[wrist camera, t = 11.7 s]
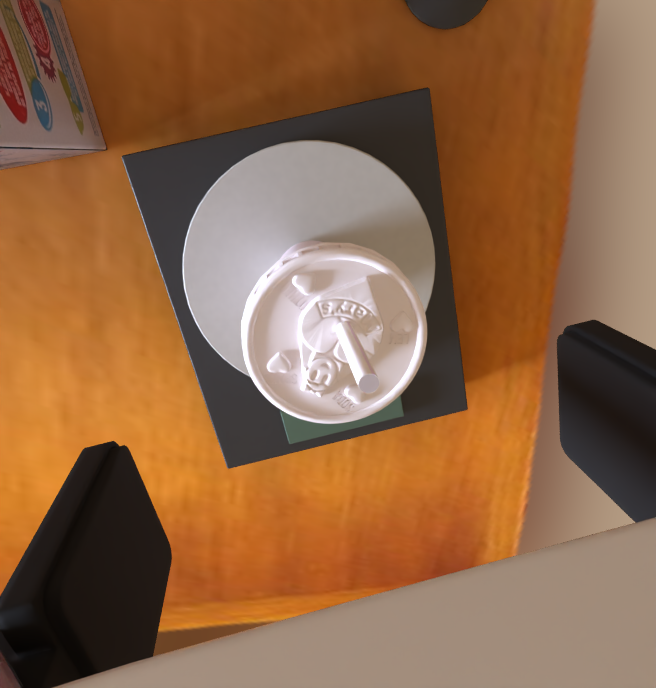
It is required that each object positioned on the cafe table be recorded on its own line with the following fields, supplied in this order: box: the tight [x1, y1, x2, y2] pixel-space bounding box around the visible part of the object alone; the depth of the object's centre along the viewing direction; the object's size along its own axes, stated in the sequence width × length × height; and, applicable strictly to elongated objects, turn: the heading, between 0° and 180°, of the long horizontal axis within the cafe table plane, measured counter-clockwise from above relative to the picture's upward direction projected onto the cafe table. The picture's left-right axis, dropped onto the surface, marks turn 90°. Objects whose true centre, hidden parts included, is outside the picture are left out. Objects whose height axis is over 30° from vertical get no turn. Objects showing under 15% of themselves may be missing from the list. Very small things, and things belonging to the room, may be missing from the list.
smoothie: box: [241, 240, 427, 424], centre depth 19 cm, size 6×6×14 cm
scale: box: [122, 88, 468, 468], centre depth 28 cm, size 18×15×4 cm
